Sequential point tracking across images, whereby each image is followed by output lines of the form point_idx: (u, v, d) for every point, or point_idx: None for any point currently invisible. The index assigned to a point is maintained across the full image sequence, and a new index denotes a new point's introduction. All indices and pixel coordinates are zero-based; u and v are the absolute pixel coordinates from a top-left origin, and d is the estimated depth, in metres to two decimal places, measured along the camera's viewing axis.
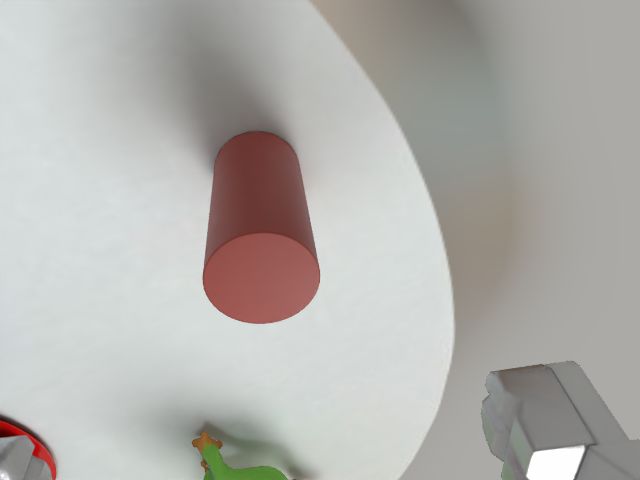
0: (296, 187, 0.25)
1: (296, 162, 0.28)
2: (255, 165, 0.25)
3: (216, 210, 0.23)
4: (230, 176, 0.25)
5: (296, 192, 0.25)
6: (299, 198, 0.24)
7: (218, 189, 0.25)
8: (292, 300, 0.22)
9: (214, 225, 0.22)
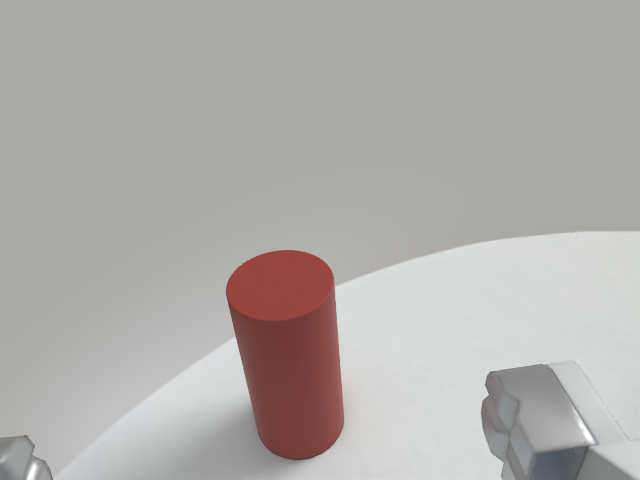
0: None
1: None
2: None
3: (256, 368, 0.24)
4: (251, 389, 0.25)
5: None
6: None
7: (261, 395, 0.25)
8: (303, 262, 0.24)
9: (253, 351, 0.23)
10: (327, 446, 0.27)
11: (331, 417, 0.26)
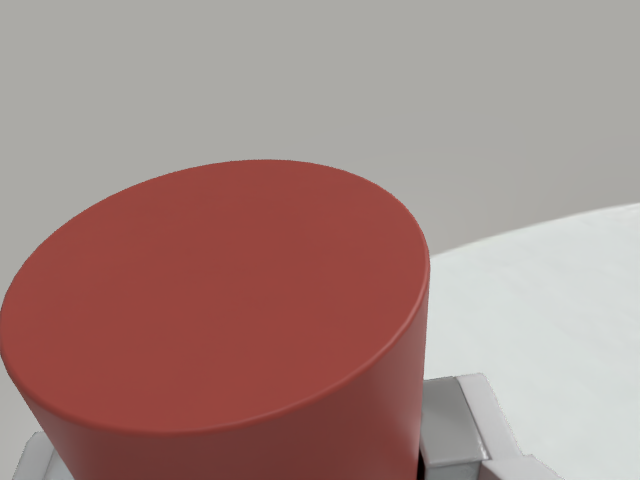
0: None
1: None
2: None
3: None
4: None
5: None
6: None
7: None
8: (309, 189, 0.07)
9: None
10: None
11: None
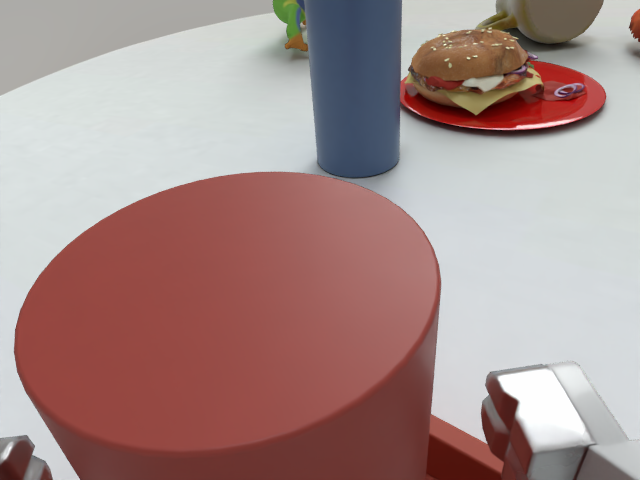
0: None
1: None
2: None
3: None
4: None
5: None
6: None
7: None
8: (319, 202, 0.07)
9: None
10: None
11: None
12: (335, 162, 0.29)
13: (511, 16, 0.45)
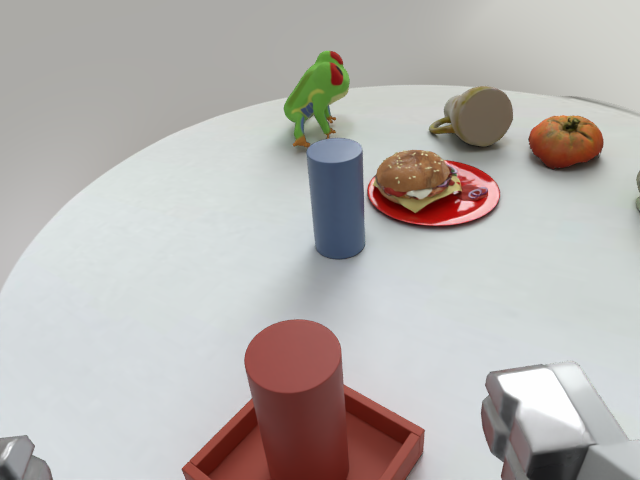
0: None
1: None
2: None
3: (271, 429, 0.26)
4: (266, 445, 0.28)
5: None
6: None
7: (275, 451, 0.27)
8: (313, 332, 0.27)
9: (269, 416, 0.26)
10: None
11: (338, 468, 0.29)
12: (325, 250, 0.49)
13: (450, 126, 0.65)
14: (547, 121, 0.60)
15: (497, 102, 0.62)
